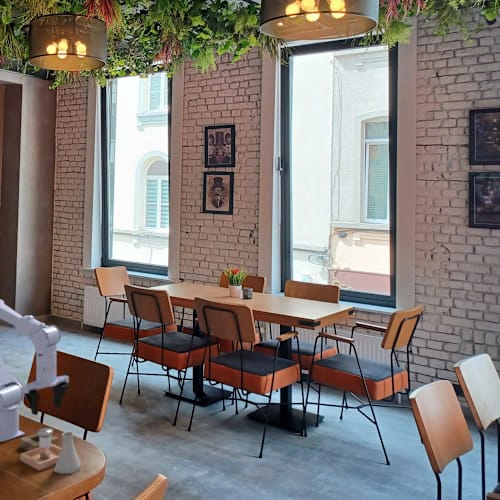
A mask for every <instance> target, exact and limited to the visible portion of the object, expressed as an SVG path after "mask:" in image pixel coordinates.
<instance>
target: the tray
mask: <svg viewBox="0 0 500 500" xmlns="http://www.w3.org/2000/svg"><path fill="white" fill-rule="evenodd" d="M61 448H62V447H60V446H56V445H53V444H51V458H50V459H47V460H41V459H40V447H39V448H36V449H33V450H30V451H27V450H26V451H25V452H22V453H20V461H21V462H23V463H24V464H26V465H28V466H30V467H31V468H34V469H35V470H37V471H40V472H41V471H43V470H46V469H48V468H52V467H55V465H56V463H57V460H58V457H59V454H60V451H61Z"/></svg>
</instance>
